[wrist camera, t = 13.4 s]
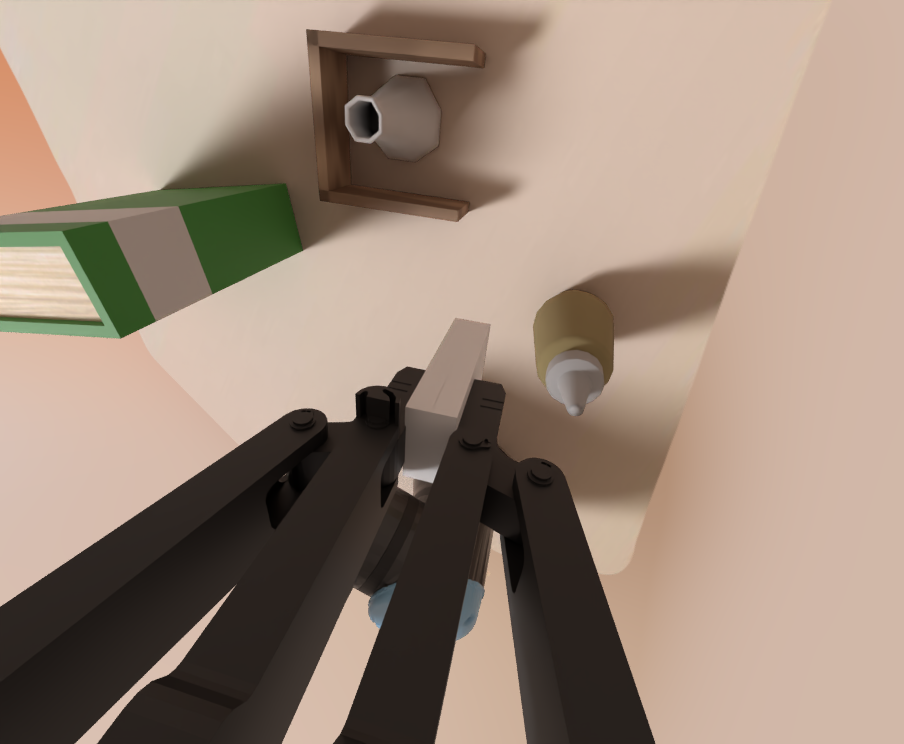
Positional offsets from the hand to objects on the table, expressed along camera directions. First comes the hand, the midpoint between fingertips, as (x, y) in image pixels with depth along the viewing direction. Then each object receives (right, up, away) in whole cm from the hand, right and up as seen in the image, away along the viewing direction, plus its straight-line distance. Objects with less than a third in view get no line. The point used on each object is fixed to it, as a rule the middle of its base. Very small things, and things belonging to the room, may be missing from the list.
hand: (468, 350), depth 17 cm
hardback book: (-28, +18, +31) cm, 45 cm away
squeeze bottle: (+13, +6, +27) cm, 31 cm away
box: (-5, +23, +22) cm, 32 cm away
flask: (-5, +23, +21) cm, 32 cm away
